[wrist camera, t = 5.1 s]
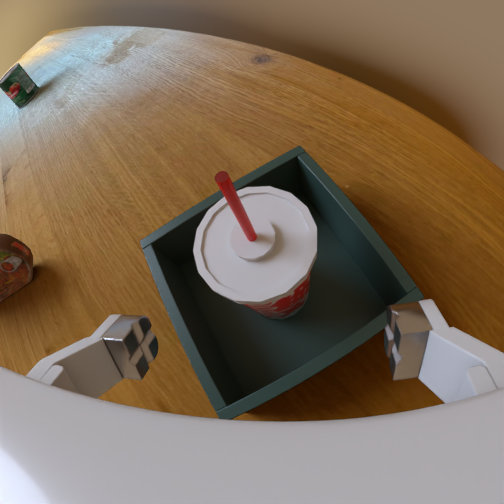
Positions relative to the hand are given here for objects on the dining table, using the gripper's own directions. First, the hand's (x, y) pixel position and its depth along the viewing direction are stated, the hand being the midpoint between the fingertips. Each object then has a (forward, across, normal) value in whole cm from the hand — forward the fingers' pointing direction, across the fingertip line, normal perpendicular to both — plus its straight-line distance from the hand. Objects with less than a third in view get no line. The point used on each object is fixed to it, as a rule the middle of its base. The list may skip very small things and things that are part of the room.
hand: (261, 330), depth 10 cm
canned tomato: (+50, +66, -33) cm, 89 cm away
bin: (+12, +1, +5) cm, 13 cm away
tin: (+13, +35, +4) cm, 38 cm away
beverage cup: (+12, +1, +5) cm, 13 cm away
